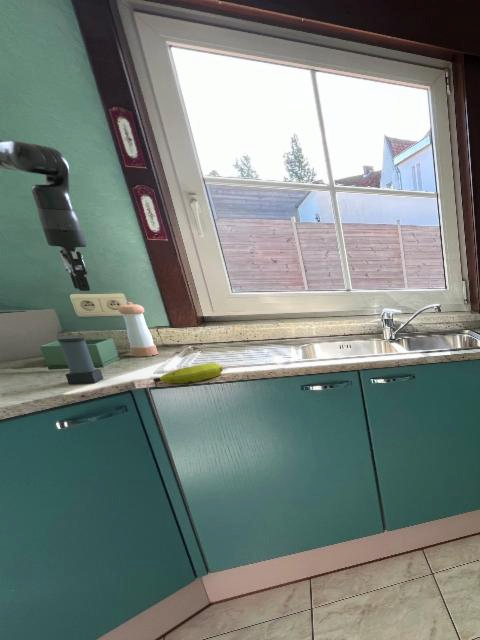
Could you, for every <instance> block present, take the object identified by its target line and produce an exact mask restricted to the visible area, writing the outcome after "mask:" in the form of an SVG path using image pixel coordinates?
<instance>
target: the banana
mask: <svg viewBox="0 0 480 640" xmlns="http://www.w3.org/2000/svg"><path fill="white" fill-rule="evenodd" d="M223 371H224V366H223V365H220V364H219V363H216V362H207V363H203V364H198V365H192V366H187V367H183V368H179V369H176V370H173V371H169V372H167V373H165V374H163V375H161V376H160V377H154V378H152V379H153V382H154V383H159V382H163V383H165V384H188V383H194V382H200V381H204V380H209V379H212V378H215V377H218V376H220V375H221V373H222V372H223Z"/></svg>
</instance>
